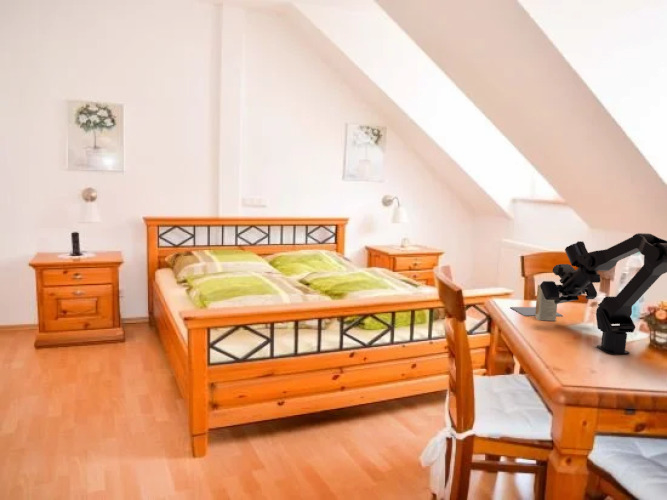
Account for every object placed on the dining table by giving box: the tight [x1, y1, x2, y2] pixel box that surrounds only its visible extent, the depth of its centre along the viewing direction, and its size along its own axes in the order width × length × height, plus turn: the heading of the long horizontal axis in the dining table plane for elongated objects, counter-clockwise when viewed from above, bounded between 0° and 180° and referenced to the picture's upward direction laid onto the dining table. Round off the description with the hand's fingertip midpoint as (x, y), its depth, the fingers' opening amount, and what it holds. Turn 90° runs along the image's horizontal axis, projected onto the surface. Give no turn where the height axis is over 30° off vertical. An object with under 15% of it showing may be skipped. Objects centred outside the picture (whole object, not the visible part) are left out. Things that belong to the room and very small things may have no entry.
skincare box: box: [534, 283, 558, 322], centre depth 188 cm, size 6×4×12 cm
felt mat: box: [509, 306, 564, 317], centre depth 198 cm, size 11×15×1 cm
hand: (555, 302), depth 184 cm, fingers closed
